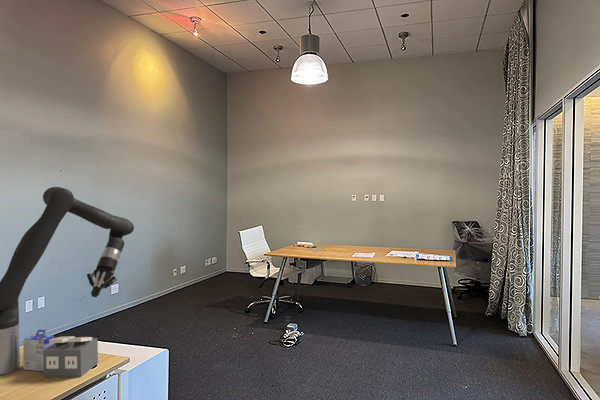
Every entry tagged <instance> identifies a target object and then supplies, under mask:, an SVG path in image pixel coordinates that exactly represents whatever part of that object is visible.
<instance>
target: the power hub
mask: <svg viewBox="0 0 600 400" xmlns="http://www.w3.org/2000/svg"><path fill="white" fill-rule="evenodd" d="M98 350H99V343H98V338H97V337H95V338H94V337H92V340H91V341H83V342H68V341H67V342H64V343H54V344H53V345H51V346H50V347H48V348H46V349H45V350H43V365H44V371H43V378H82V377H83V376H84V375H85V374H87V373H88V372H89V371H90V370H91V369H93V368H94V367H96V365H98V364H99V351H98Z"/></svg>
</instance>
